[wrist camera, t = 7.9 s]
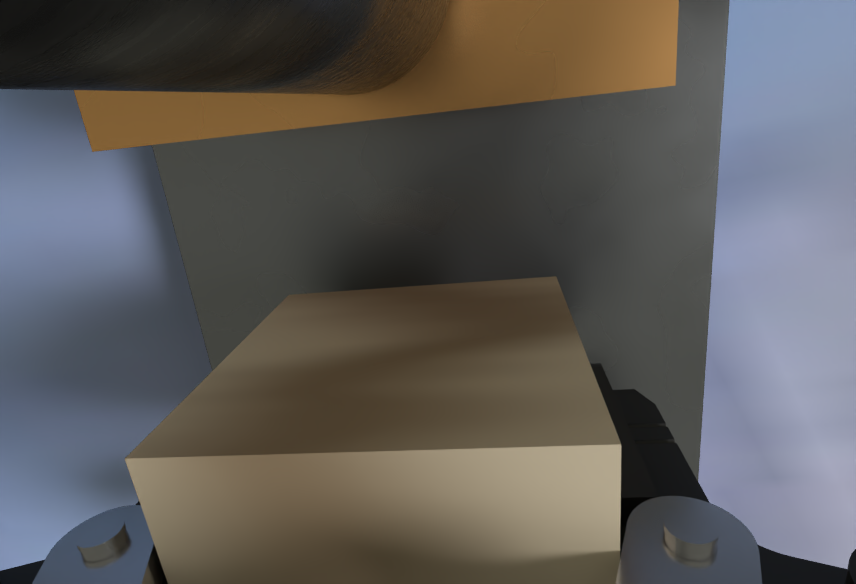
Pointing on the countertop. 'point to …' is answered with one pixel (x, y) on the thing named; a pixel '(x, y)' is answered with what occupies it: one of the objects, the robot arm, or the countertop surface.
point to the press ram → (322, 59)
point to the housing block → (392, 446)
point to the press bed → (483, 215)
